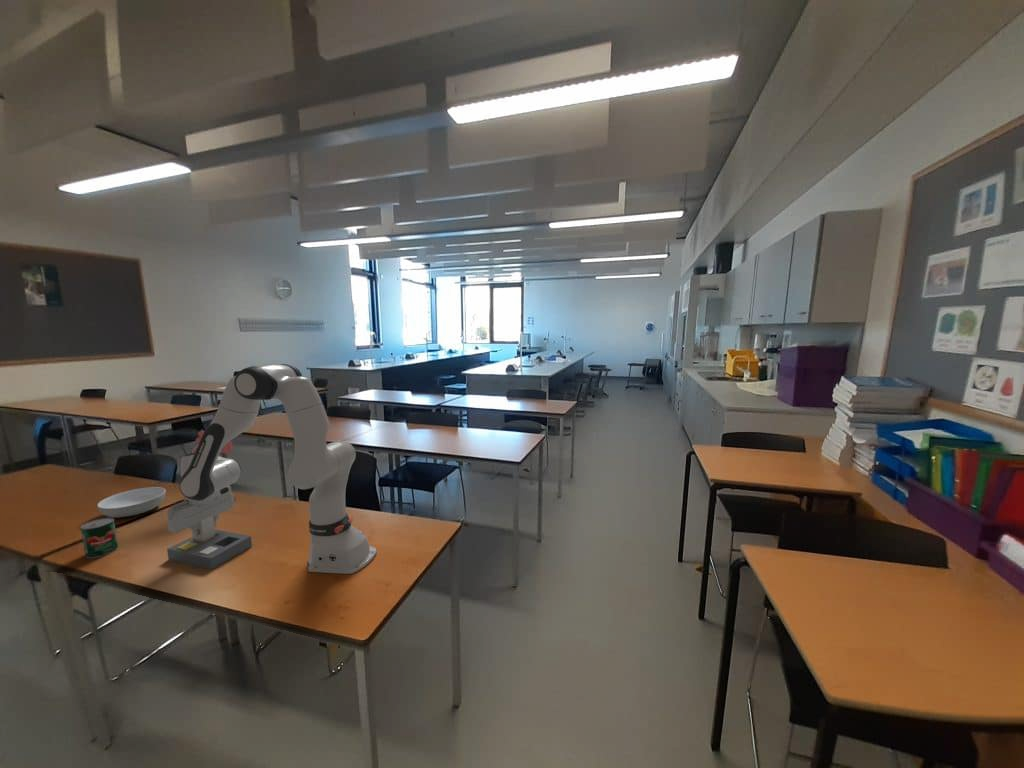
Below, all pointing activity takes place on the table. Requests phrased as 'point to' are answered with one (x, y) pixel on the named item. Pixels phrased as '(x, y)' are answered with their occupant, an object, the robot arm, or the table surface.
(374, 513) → the table surface
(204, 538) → the plug
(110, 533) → the canned tomato
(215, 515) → the robot arm
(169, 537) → the table surface
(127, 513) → the serving bowl
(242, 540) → the socket block
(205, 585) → the table surface
